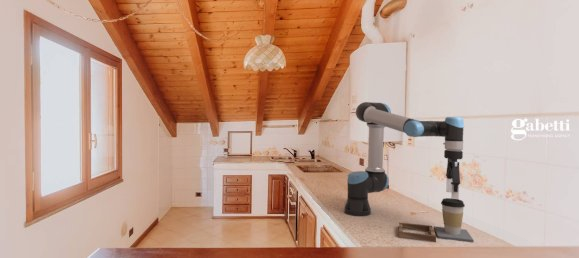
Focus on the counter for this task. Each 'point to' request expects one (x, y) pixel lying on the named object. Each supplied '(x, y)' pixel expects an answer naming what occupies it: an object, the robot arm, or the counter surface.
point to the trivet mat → (461, 237)
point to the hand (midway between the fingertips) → (452, 195)
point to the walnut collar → (416, 235)
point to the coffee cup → (452, 215)
